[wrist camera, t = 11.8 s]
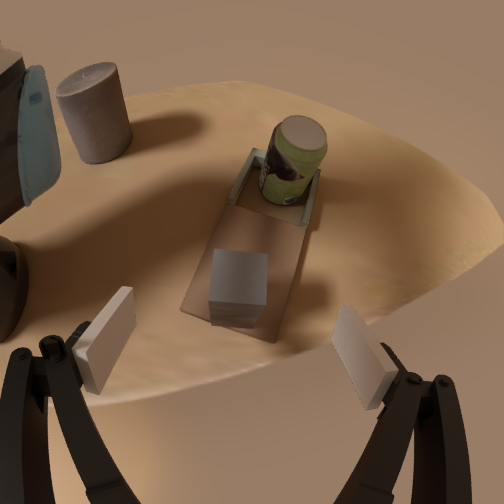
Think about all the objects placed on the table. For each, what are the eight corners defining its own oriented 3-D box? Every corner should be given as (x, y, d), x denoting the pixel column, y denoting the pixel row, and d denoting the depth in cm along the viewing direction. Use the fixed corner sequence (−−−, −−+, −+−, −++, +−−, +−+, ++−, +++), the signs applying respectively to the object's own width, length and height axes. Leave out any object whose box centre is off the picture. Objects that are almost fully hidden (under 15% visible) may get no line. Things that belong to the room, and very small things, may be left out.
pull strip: (179, 315, 27) (161, 282, 18) (251, 157, 38) (260, 104, 30) (271, 347, 26) (296, 330, 18) (316, 179, 38) (338, 129, 29)
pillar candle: (118, 121, 40) (102, 50, 27) (142, 142, 38) (126, 60, 25) (73, 148, 37) (46, 79, 23) (91, 175, 34) (57, 95, 21)
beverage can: (289, 171, 38) (311, 103, 27) (312, 211, 35) (345, 143, 24) (249, 178, 36) (261, 105, 26) (269, 221, 33) (291, 148, 23)
